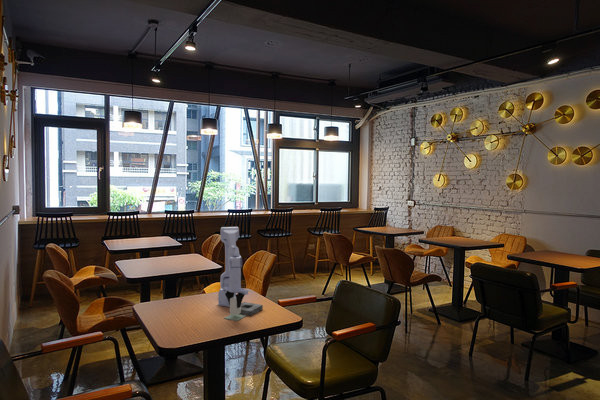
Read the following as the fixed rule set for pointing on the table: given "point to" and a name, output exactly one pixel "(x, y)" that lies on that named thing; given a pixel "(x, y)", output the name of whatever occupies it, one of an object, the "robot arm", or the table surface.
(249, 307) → the pocket board
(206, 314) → the table surface
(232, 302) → the block
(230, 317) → the mat
